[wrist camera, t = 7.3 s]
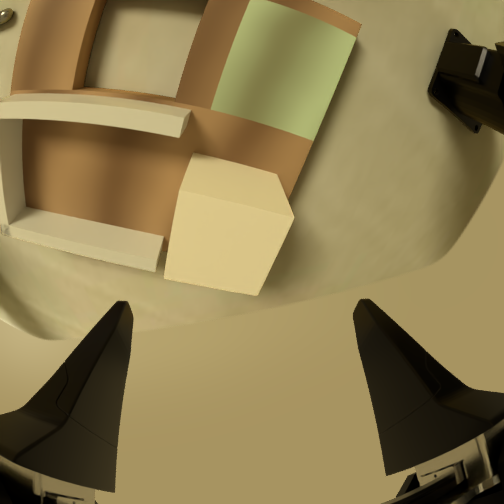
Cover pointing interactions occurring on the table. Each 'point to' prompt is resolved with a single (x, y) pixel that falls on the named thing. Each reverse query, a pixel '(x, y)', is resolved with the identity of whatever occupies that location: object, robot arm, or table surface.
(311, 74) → the board
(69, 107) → the cubby
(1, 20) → the allen wrench
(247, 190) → the cube
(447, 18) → the table surface
